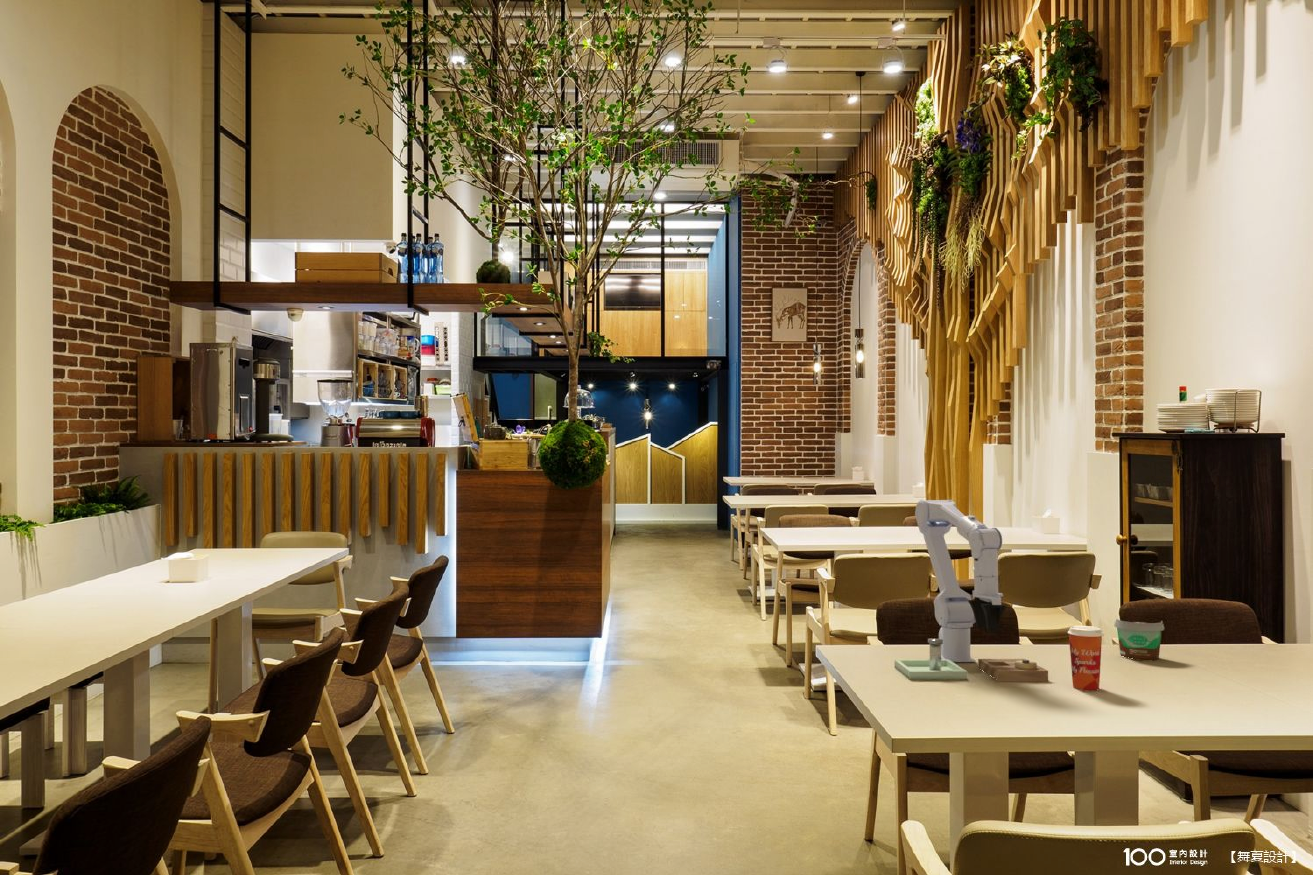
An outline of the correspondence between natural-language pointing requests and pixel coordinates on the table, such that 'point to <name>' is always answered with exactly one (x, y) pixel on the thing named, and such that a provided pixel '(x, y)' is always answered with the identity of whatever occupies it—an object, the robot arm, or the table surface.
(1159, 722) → the table surface
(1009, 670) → the tensioner block
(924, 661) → the tray
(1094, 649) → the paper cup
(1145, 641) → the food container
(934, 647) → the pin
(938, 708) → the table surface
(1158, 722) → the table surface
